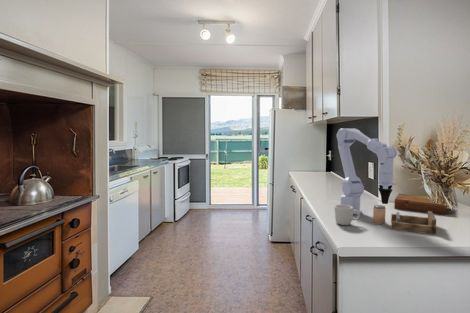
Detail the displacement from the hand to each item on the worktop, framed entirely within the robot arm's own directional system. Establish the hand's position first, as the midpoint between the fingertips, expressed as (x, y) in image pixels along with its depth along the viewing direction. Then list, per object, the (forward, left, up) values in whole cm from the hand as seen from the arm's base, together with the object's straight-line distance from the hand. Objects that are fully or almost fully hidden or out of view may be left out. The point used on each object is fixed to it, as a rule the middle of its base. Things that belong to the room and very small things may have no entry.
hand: (384, 202), depth 138 cm
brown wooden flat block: (+17, +38, -10) cm, 43 cm away
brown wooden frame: (+11, -2, -10) cm, 15 cm away
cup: (-15, -11, -10) cm, 21 cm away
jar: (-2, -2, -10) cm, 10 cm away
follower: (+5, -2, -9) cm, 11 cm away
